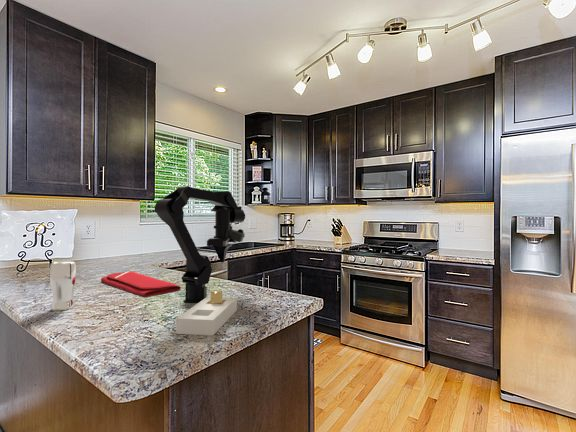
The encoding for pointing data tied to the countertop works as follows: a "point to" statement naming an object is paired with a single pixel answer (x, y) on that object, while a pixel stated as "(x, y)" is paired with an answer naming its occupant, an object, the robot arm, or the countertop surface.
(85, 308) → the countertop surface
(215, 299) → the cylinder
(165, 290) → the dish drying mat
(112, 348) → the countertop surface
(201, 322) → the block
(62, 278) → the white carton
